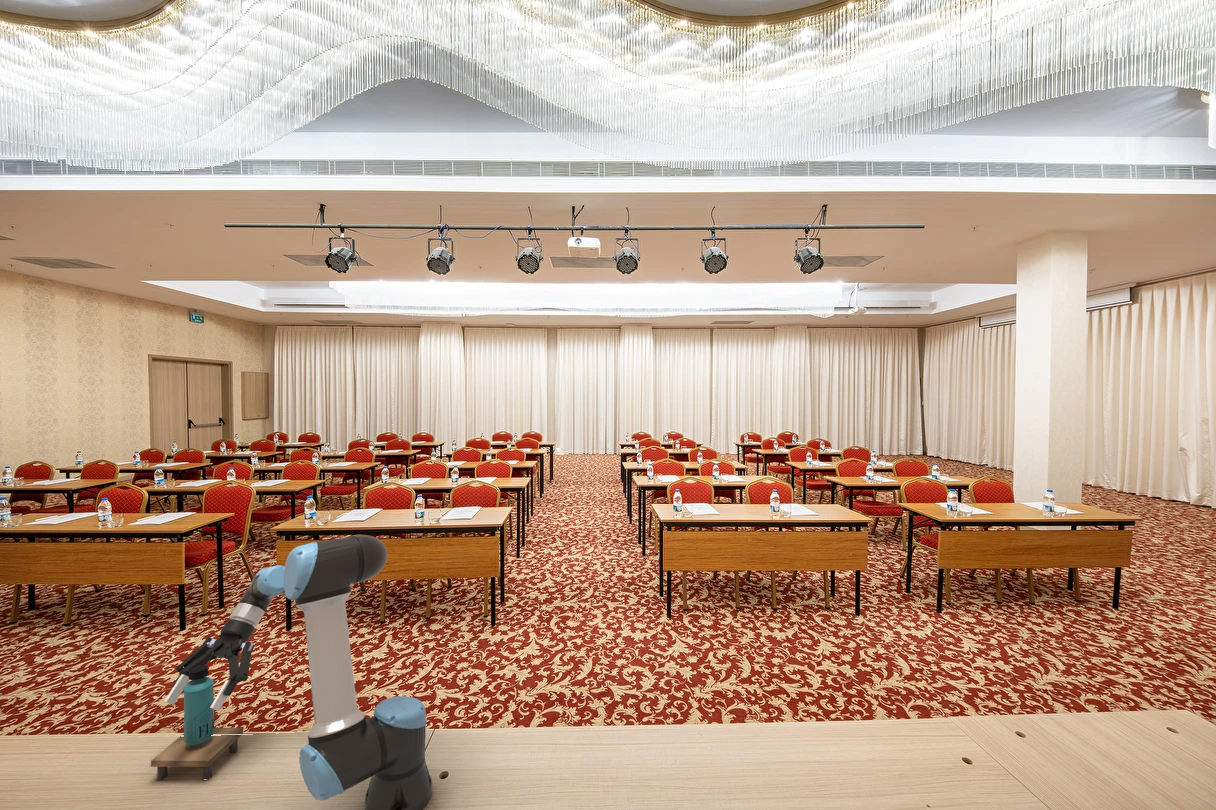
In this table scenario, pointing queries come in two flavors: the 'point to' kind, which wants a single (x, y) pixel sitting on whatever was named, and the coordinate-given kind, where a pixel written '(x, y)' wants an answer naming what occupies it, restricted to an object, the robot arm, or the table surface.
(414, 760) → the robot arm
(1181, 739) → the table surface
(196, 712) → the beverage bottle
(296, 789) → the table surface
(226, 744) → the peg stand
